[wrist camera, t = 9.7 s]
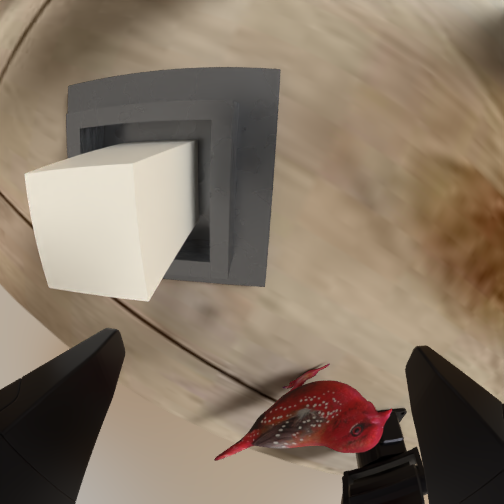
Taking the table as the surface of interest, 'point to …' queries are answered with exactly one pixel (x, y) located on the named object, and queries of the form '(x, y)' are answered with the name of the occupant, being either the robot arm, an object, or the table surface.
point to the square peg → (115, 216)
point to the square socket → (209, 154)
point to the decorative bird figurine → (316, 419)
